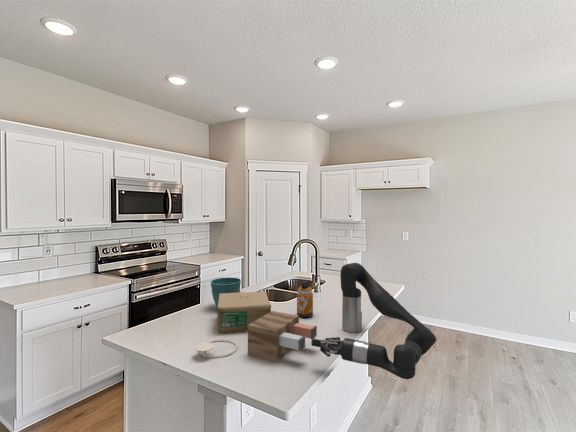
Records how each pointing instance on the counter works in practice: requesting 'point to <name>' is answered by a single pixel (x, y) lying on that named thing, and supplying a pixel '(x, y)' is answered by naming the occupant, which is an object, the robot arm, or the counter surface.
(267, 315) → the socket block
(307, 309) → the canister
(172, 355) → the counter surface
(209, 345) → the hand towel holder
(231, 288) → the flower pot
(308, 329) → the brick plug
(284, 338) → the grey plug
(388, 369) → the robot arm
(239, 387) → the counter surface
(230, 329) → the paper package
